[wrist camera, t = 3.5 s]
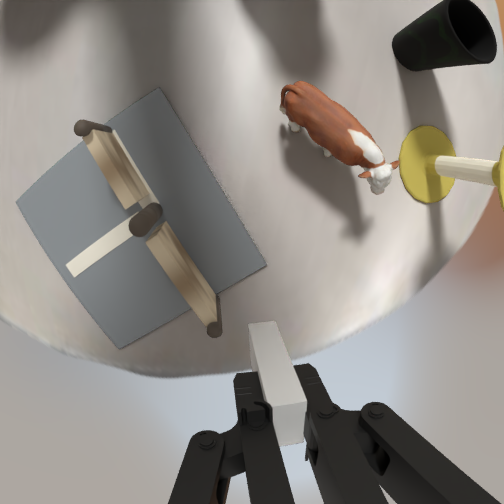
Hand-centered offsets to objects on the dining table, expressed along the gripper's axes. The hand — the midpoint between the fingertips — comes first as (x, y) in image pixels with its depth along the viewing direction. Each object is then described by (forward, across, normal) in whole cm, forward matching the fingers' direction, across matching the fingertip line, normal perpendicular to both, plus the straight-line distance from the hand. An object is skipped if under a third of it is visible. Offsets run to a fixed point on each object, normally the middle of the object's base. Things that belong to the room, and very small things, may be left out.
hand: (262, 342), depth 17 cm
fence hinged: (+17, -5, -1) cm, 17 cm away
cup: (+18, +23, +24) cm, 38 cm away
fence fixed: (+17, -10, +10) cm, 22 cm away
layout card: (+18, -11, +4) cm, 21 cm away
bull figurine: (+18, +10, +12) cm, 23 cm away
